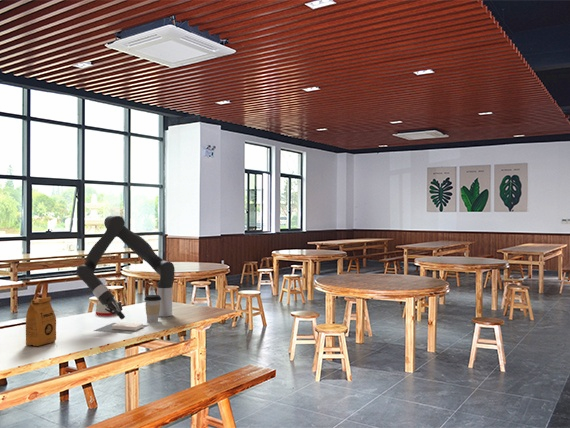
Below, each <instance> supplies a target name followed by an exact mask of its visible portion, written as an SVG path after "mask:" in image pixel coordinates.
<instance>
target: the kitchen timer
mask: <svg viewBox="0 0 570 428" xmlns="http://www.w3.org/2000/svg"><path fill="white" fill-rule="evenodd" d="M108 289H109V290H110V292H111V293H112V290H111V288H108ZM114 300H116V302H117V303H119V302H120V301H118V300H117V299H116V298H115V297H114ZM105 308H106V306H105V305H102V304H101V303H100V301H99V300H98V302H97V303H96V308H95V315H96V314H97V316H100V315H101V317H106V316H115V315H116V314H112V313H110V312H108V311H106V310H105Z"/></svg>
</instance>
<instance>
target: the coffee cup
mask: <svg viewBox="0 0 570 428" xmlns="http://www.w3.org/2000/svg"><path fill="white" fill-rule="evenodd" d="M160 300H161V297H160V296H159V295H157V294H148V295H145V297H144V301H145V305H144V306H145V315H146V321H147V323H157V322H158V321H159V318H160V316H159V311H160Z"/></svg>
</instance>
